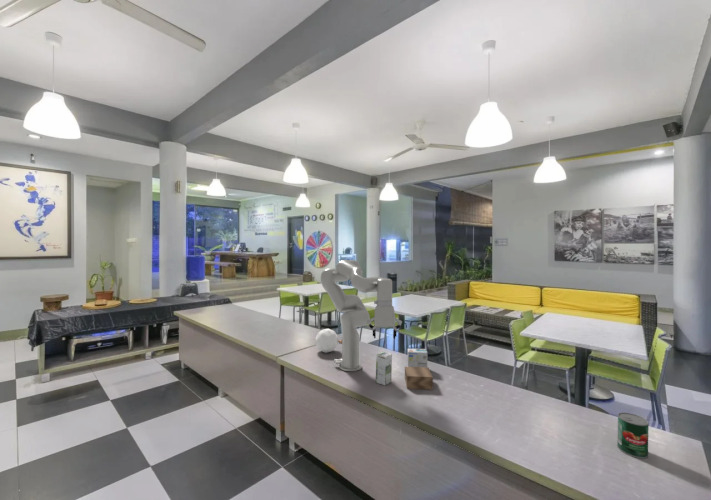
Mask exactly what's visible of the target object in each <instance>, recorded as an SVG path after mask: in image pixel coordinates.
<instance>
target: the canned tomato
mask: <svg viewBox="0 0 711 500" xmlns="http://www.w3.org/2000/svg"><path fill="white" fill-rule="evenodd" d="M649 425H650V422H649V420H647V419H646V418H644V417H643V416H640V415H638V414H633V413H631V412H623V411H622V412H618V414H617V444H616V445H617V448H618V450H620V451H621V452H622V453H624V454H625V455H628V456H631V457H632V458H633V457H634V458H637V459H646V458H648V457H649V427H650V426H649Z"/></svg>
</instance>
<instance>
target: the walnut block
mask: <svg viewBox="0 0 711 500" xmlns="http://www.w3.org/2000/svg"><path fill="white" fill-rule="evenodd" d="M433 379H434V377H433V374H432V373H431V370H430V368H429V367H428V366H427V367H408V366H404V380H405V381H404V382H405V385H406V389H409V390H433V385H434V381H433Z"/></svg>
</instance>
